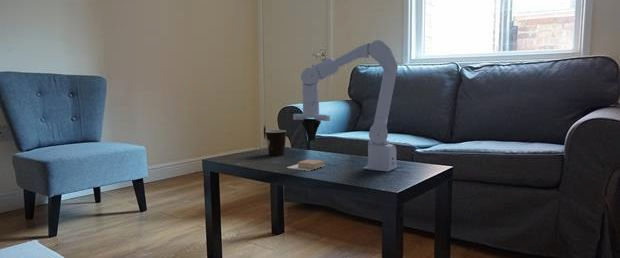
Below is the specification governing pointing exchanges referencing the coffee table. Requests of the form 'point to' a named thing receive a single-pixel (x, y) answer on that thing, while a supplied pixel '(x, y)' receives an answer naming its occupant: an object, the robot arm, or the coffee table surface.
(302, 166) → the tile
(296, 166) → the felt mat
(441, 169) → the coffee table surface
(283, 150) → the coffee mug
